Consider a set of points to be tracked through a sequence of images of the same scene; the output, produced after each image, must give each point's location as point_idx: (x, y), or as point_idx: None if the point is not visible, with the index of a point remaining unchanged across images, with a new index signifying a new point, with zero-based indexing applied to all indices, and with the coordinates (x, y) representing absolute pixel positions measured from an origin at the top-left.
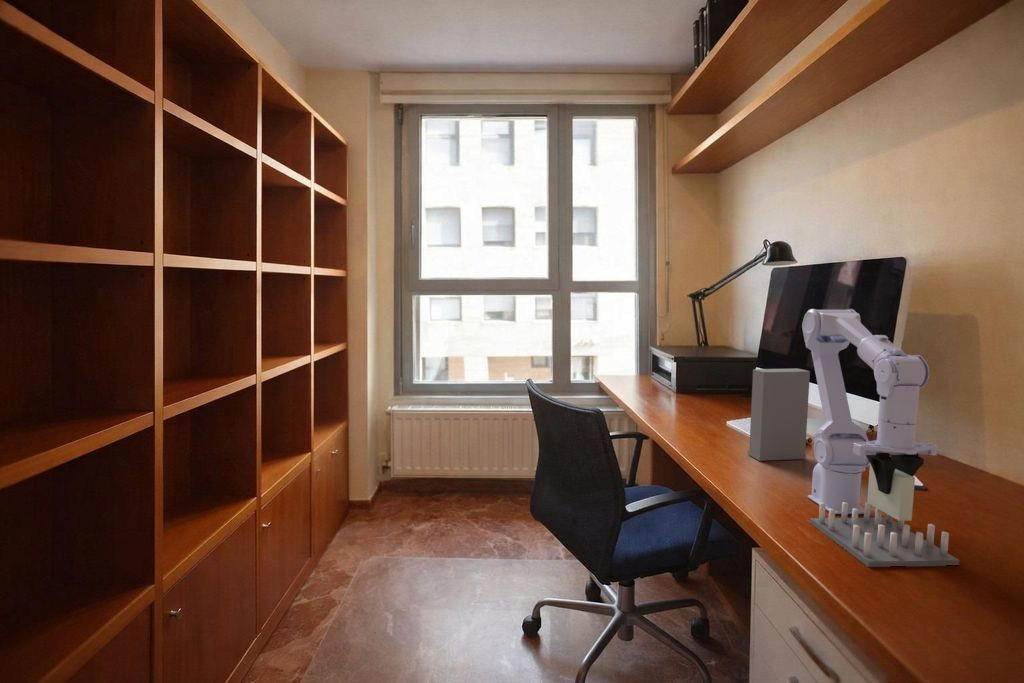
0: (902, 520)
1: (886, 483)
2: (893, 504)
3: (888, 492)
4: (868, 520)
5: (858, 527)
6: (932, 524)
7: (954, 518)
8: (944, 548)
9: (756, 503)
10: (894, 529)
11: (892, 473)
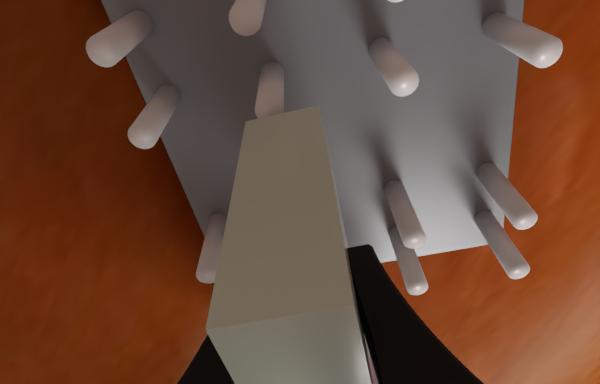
0: (297, 110)
1: (400, 296)
2: (334, 184)
3: (359, 252)
4: None
5: (548, 35)
6: (134, 144)
7: (12, 329)
8: (132, 17)
9: (574, 323)
10: None
11: (392, 373)
